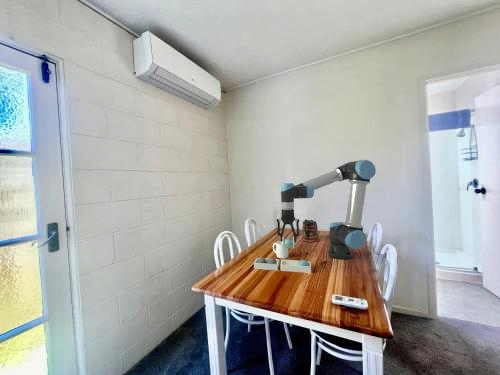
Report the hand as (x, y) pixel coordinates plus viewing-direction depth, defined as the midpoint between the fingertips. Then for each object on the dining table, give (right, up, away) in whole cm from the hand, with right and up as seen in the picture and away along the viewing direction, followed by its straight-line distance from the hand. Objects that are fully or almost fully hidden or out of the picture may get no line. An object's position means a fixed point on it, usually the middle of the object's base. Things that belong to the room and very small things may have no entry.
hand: (288, 247), depth 122 cm
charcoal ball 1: (-16, -13, +4) cm, 21 cm away
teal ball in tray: (+8, -12, -2) cm, 15 cm away
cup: (-2, -13, +21) cm, 25 cm away
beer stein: (+29, -11, +55) cm, 63 cm away
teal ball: (0, 0, 0) cm, 0 cm away
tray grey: (-13, -14, +3) cm, 19 cm away
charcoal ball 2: (-10, -13, +2) cm, 16 cm away
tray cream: (+4, -13, -1) cm, 14 cm away
